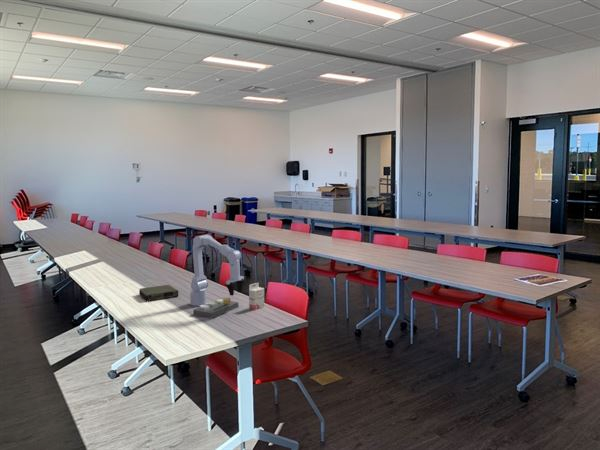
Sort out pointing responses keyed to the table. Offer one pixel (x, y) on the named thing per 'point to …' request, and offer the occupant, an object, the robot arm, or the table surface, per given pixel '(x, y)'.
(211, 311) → the control panel
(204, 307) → the grey button
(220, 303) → the ivory button
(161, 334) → the table surface
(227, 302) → the brass slider
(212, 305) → the sage button
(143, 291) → the network switch
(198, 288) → the robot arm
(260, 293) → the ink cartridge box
